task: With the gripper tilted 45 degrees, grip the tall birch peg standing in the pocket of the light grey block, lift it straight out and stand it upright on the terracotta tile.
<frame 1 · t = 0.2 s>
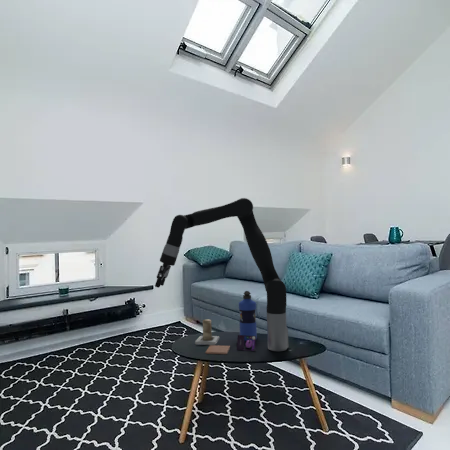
hand: (159, 286, 162), 31 cm above the table, tool tilted 20°, fingers open, 8 cm apart
terracotta tile: (218, 350, 160), on the table
birch peg: (207, 331, 175), in the pocket block
water bottle: (248, 338, 178), on the table
purple toy figure: (247, 349, 161), on the table
pocket block: (207, 341, 174), on the table
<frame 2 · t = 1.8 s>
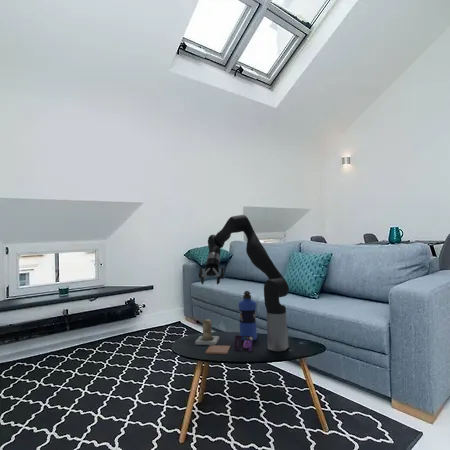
hand: (209, 283, 187), 29 cm above the table, tool tilted 45°, fingers open, 8 cm apart
purple toy figure: (244, 350, 161), on the table
everything else where it was.
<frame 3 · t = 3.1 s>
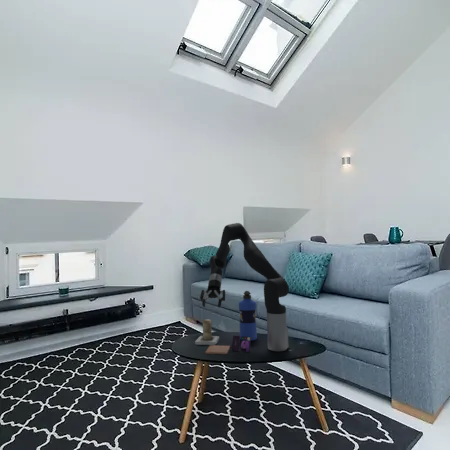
hand: (211, 306, 187), 16 cm above the table, tool tilted 45°, fingers open, 8 cm apart
purple toy figure: (242, 350, 160), on the table
everything else where it was.
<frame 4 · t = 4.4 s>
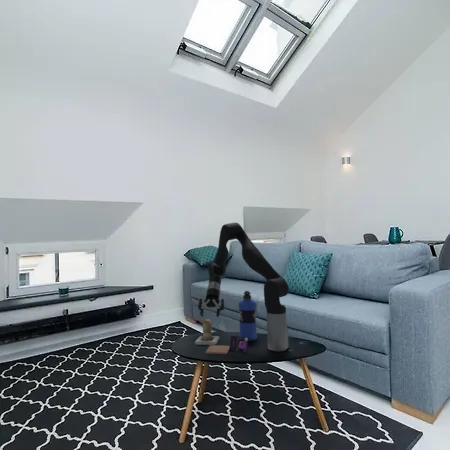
hand: (209, 316, 181), 12 cm above the table, tool tilted 45°, fingers open, 8 cm apart
purple toy figure: (240, 350, 160), on the table
everything else where it was.
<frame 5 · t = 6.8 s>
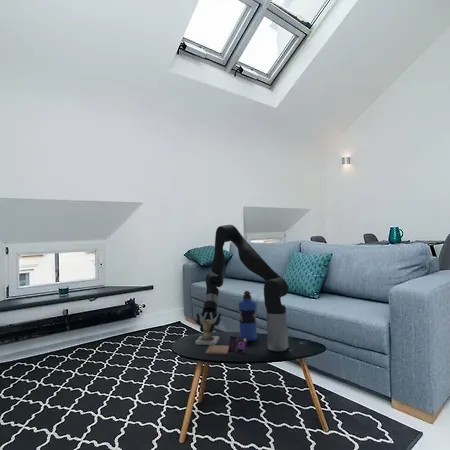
hand: (206, 331, 173), 6 cm above the table, tool tilted 45°, fingers closed on birch peg, 4 cm apart
birch peg: (207, 331, 175), in the pocket block, touching gripper
purple toy figure: (239, 351, 159), on the table
everything else where it was.
when the fingers open (8 cm above the table, at t = 12.5 s): birch peg drops 1 cm, resting on terracotta tile.
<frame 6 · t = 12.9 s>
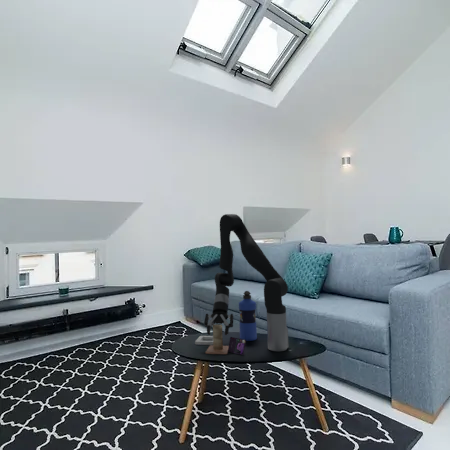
hand: (217, 334, 159), 8 cm above the table, tool tilted 45°, fingers open, 8 cm apart
birch peg: (217, 337, 160), on the terracotta tile, point 6 cm above the table
purple toy figure: (238, 352, 157), on the table
everything else where it was.
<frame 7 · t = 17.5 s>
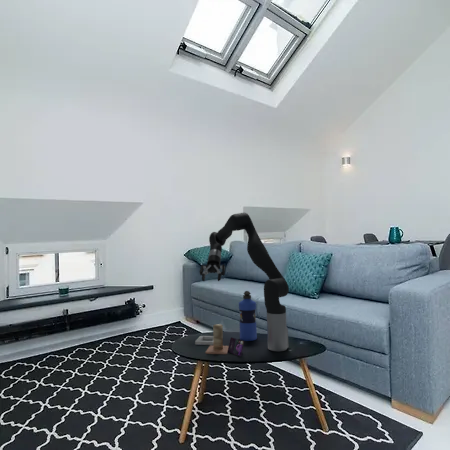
hand: (210, 280, 186), 31 cm above the table, tool tilted 45°, fingers open, 8 cm apart
purple toy figure: (237, 353, 156), on the table
everything else where it was.
at the end: birch peg 0.1 cm off-centre on the terracotta tile, point 6.3 cm above the terracotta tile's base; birch peg tilted 1°; the gripper is holding nothing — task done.
